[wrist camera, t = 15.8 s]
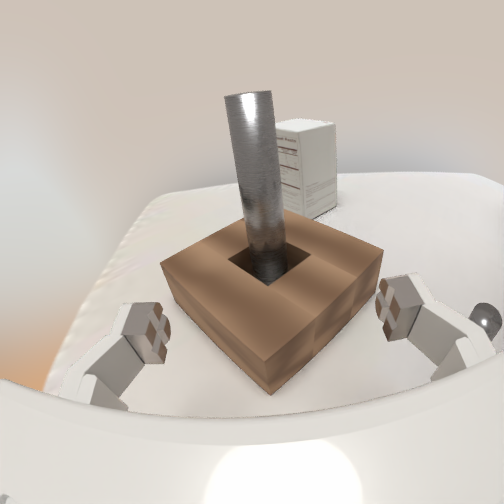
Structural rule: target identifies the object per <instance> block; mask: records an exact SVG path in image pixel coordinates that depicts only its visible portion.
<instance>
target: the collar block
mask: <svg viewBox="0 0 504 504" xmlns="http://www.w3.org/2000/svg"><path fill="white" fill-rule="evenodd" d="M284 219H285V232H286V246H287V260H288V272H287V273H286V274H284V275H283V276H282V277H280V278H279V279H278V280H276V281H275V282H273V283H272V284H271V285H269V286H267V285H265V284H264V283H262V282H261V281H259V280H258V279H256V278H254V274H253V268H252V262H251V256H250V250H249V244H248V238H247V232H246V226H245V220H244V218H242V219H240V220H238V221H236V222H234V223H232V224H231V225H229V226H227V227H225V228H223V229H221V230H219V231H217V232H215V233H214V234H212V235H210V236H208V237H206V238H204V239H202V240H200V241H199V242H197V243H195V244H193V245H191V246H189V247H188V248H186V249H184V250H182V251H180V252H178V253H177V254H175V255H173V256H171V257H169V258H168V259H166V260H164V261H162V262H160V265H161V267H162V270H163V273H164V275H165V277H166V280H167V282H168V285H169V287H170V290H171V292H172V294H173V297H174V299H175V301H176V302H177V304H178V305H179V306H180V307H181V308H182V309H183V310H184V311H185V312H186V313H187V315H188V316H189V317H190V318H191V319H192V320H193V321H194V322H195V323H196V324H197V325H198V326H199V327H200V328H201V329H202V330H203V331H204V333H205V334H206V335H207V336H208V337H209V338H210V339H211V340H212V341H213V342H214V343H215V344H216V345H217V346H218V347H219V348H220V349H221V350H222V351H223V352H224V353H225V354H226V355H227V356H228V357H229V358H230V359H231V360H232V361H233V362H235V363H236V364H237V365H238V366H239V367H240V368H241V369H242V370H243V371H244V372H245V373H246V374H247V375H248V376H249V377H250V378H252V379H253V380H254V381H255V382H256V383H257V384H258V385H259V386H260V387H261V388H263V389H264V390H265V391H266V392H267V393H268V394H269V395H272V394H273V393H274V392H275V391H276V390H278V389H279V388H280V387H281V386H282V385H283V384H285V383H286V382H287V381H288V380H289V379H290V378H291V377H292V376H294V375H295V374H296V373H297V372H298V371H299V370H300V369H301V368H302V367H303V366H305V365H306V364H307V363H308V362H309V361H310V360H311V359H312V358H313V357H314V356H315V355H316V354H317V353H318V352H319V351H320V350H321V349H322V348H323V347H324V346H325V345H326V344H327V343H328V342H329V341H330V340H331V339H332V338H333V337H334V336H335V335H336V334H337V333H338V332H339V331H340V330H341V329H342V328H343V327H344V326H345V325H346V324H347V323H348V322H349V321H350V320H351V319H352V317H353V316H354V315H355V314H356V313H357V312H358V311H359V310H360V309H361V308H362V306H363V305H364V304H365V303H366V302H367V301H368V300H369V299H370V297H371V296H372V295H373V294H374V293H375V290H376V286H377V281H378V277H379V272H380V267H381V262H382V257H383V251H384V250H383V249H380V248H378V247H376V246H374V245H371V244H369V243H367V242H364V241H362V240H360V239H357V238H355V237H353V236H350V235H348V234H346V233H343V232H341V231H338V230H336V229H334V228H331V227H329V226H326V225H324V224H321V223H319V222H316V221H314V220H311V219H309V218H306V217H304V216H301V215H299V214H296V213H294V212H291V211H288V210H286V209H284Z"/></svg>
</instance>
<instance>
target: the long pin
mask: <svg viewBox="0 0 504 504" xmlns="http://www.w3.org/2000/svg"><path fill="white" fill-rule="evenodd" d="M224 98H225V104H226V110H227V117H228V122H229V129H230V135H231V141H232V147H233V153H234V159H235V166H236V172H237V178H238V184H239V190H240V196H241V202H242V208H243V214H244V220H245V226H246V232H247V238H248V244H249V250H250V256H251V262H252V268H253V274H254V278H256V279H258V280H259V281H261V282H262V283H264V284H265V285H267V286H269V285H271V284H272V283H273V282H275V281H276V280H278V279H279V278H280V277H282V276H283V275H284V274H286V273H287V272H288V260H287V246H286V232H285V219H284V207H283V196H282V184H281V174H280V164H279V154H278V144H277V135H276V126H275V118H274V109H273V101H272V93H271V91H256V92H248V93H240V94H234V95H228V96H225V97H224Z"/></svg>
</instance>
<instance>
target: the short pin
mask: <svg viewBox="0 0 504 504" xmlns="http://www.w3.org/2000/svg"><path fill="white" fill-rule="evenodd" d="M468 319H469V320H471V321H472V322H474V323H475V324H477V325H478V326H480V327H481V328H483V329H484V331H485V332H486V334H487V336H488V338H489V340H490V341H492V340H493V338H494V337H495V335H496V334H497V332H498V331H499V330H500V328H501V326H502V318H501V315H500V313H499V312H498V310H497V309H496V308H495V307H493V306H492V305H490V304H488V303H479V304H477V305H476V306H475V308H474V309H473V311H472V313H471V315H470V317H469V318H468Z"/></svg>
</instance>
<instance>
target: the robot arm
mask: <svg viewBox="0 0 504 504" xmlns="http://www.w3.org/2000/svg"><path fill="white" fill-rule="evenodd" d="M379 288H380V290H381V291H380V292H379V294H378V295H377V297H376V301H375V305H376V313H377V316H378V318H379V320H381V321H382V322H384V325H383V331H384V333H385V336H386V338H387V341H388V342H390V341H395V340H400V339H404V338H407V339H408V340H409V341H410V342H411V343H412V344H413V345H415V346H416V347H417V348H418V349H419V350H420V351H421V352H422V353H424V354H425V355H426V356H427V357H428V358H429V359H430V360H431V361H432V362H433V363H435V364H436V365H437V366H438V368H437V369H436V371H435V372H434V373H433V375H432V376H431V378H430V379H431V382H430V383H427V384H425V385H422V386H419V387H415V388H412V389H409V390H406V391H403V392H399V393H396V394H392V395H388V396H385V397H381V398H377V399H373V400H369V401H364V402H360V403H355V404H350V405H345V406H340V407H335V408H329V409H323V410H316V411H309V412H302V413H294V414H284V415H273V416H259V417H235V418H203V417H180V416H166V415H155V414H146V413H138V412H130V411H128V406H127V405H126V404H125V403H124V402H123V401H122V400H120V399H119V397H120V396H121V395H122V393H123V392H124V391H125V389H126V388H127V387H128V386H129V384H130V383H131V382H132V381H133V379H134V378H135V377H136V376H137V374H138V373H139V372H140V371H141V369H142V368H143V367H144V366H145V365H144V364H164V363H165V358H166V354H167V349H166V347H165V344H166V343H167V342H168V341H169V340H170V335H171V330H170V323H169V320H168V318H167V317H166V316H165V315H163V314H162V311H163V308H162V306H161V304H160V303H158V302H144V303H123V304H122V305H121V306H120V309H119V311H118V314H117V316H116V318H115V321H114V323H113V326H112V328H111V331H110V333H109V335H105V336H104V337H103V338H102V339H101V340H100V341H99V342H97V343H96V344H95V345H94V346H93V347H92V348H91V349H90V350H89V351H87V352H86V353H85V354H84V355H83V356H82V357H81V358H80V359H79V360H77V361H76V362H75V363H74V364H73V365H72V366H71V367H70V368H69V369H68V370H67V372H66V375H65V377H64V380H63V383H62V385H61V388H60V391H59V394H58V396H54V395H51V394H47V393H44V392H41V391H38V390H35V389H32V388H29V387H26V386H23V385H20V384H17V383H15V382H12V381H10V380H7V379H0V504H504V350H503V351H501V352H500V353H498V354H497V353H496V351H495V349H494V347H493V345H492V343H491V341H490V340H489V338H488V336H487V334H486V332H485V331H484V329H483V328H481V327H480V326H478V325H477V324H475V323H474V322H472V321H471V320H469V319H468V318H466V317H464V316H463V315H461V314H460V313H458V312H456V311H455V310H453V309H452V308H450V307H448V306H447V305H445V304H444V303H442V302H440V301H437V302H436V300H435V298H434V297H433V295H432V294H431V292H430V290H429V289H428V287H427V286H426V284H425V283H424V281H423V279H422V278H421V276H420V275H419V274H418V273H411V274H406V275H400V276H394V277H388V278H382V279H381V281H380V284H379Z"/></svg>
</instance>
